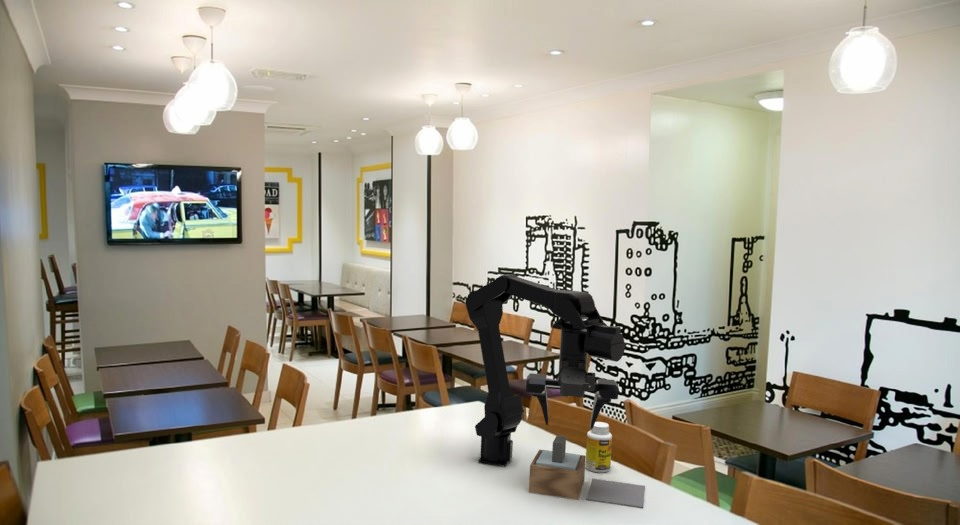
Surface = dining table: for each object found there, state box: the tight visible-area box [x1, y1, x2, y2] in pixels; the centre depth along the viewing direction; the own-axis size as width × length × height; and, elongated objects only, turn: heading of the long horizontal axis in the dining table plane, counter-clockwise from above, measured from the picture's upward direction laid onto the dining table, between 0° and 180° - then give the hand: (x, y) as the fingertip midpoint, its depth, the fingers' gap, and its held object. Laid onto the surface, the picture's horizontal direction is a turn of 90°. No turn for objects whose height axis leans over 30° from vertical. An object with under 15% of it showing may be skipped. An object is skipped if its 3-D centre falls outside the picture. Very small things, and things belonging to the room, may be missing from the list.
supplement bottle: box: [585, 421, 613, 474], centre depth 147 cm, size 6×6×10 cm
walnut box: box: [528, 449, 586, 500], centre depth 136 cm, size 10×10×6 cm
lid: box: [536, 434, 581, 470], centre depth 136 cm, size 8×8×5 cm
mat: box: [585, 478, 646, 509], centre depth 134 cm, size 11×11×1 cm
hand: (569, 426), depth 137 cm, fingers open, 9 cm apart
